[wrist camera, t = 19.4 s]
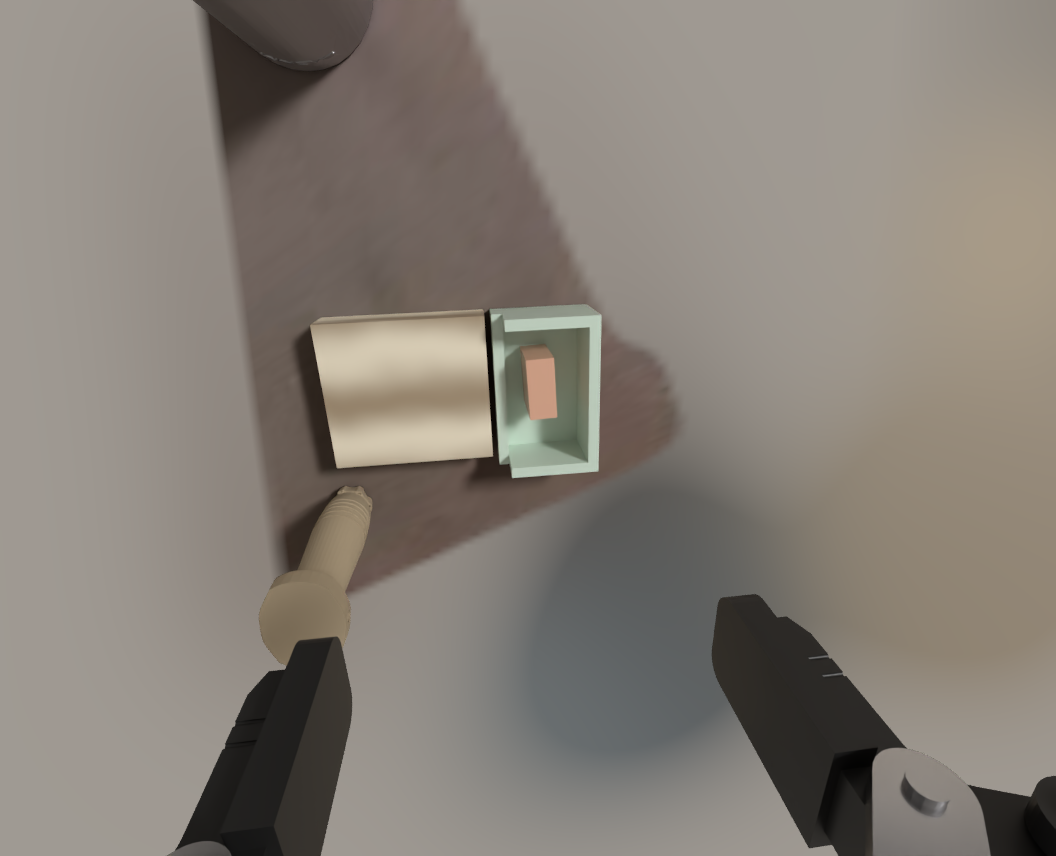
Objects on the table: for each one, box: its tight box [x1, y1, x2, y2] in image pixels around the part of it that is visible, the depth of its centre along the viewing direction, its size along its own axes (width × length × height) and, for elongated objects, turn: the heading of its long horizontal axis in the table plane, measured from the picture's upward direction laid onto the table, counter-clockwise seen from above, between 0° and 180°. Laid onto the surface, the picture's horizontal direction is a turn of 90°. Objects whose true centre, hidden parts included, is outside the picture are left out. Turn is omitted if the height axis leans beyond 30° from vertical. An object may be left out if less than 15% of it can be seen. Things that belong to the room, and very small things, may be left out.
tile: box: [520, 344, 557, 420], centre depth 40 cm, size 4×4×2 cm
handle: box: [259, 486, 372, 665], centre depth 38 cm, size 5×6×15 cm
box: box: [490, 304, 601, 478], centre depth 40 cm, size 12×8×5 cm, turn 2°
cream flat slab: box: [310, 309, 493, 468], centre depth 40 cm, size 11×12×3 cm
